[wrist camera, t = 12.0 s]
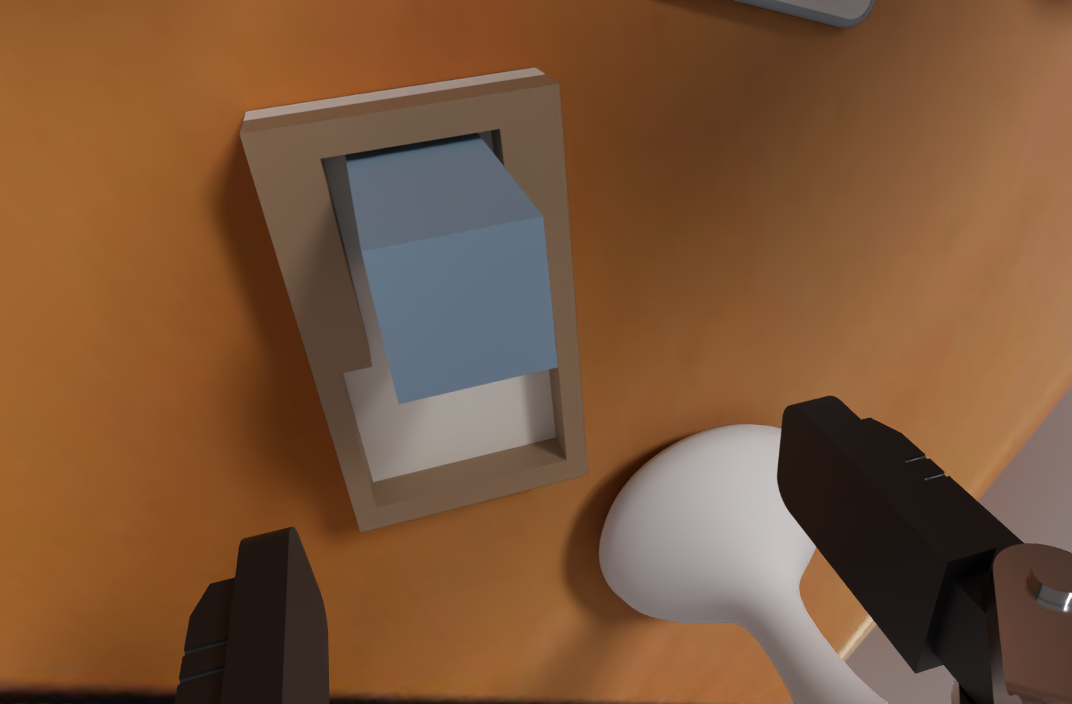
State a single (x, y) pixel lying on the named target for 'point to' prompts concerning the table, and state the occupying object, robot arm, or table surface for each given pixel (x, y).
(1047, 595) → the robot arm
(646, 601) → the flower in vase
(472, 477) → the keyhole board
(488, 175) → the block
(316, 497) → the table surface
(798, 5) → the smartphone
